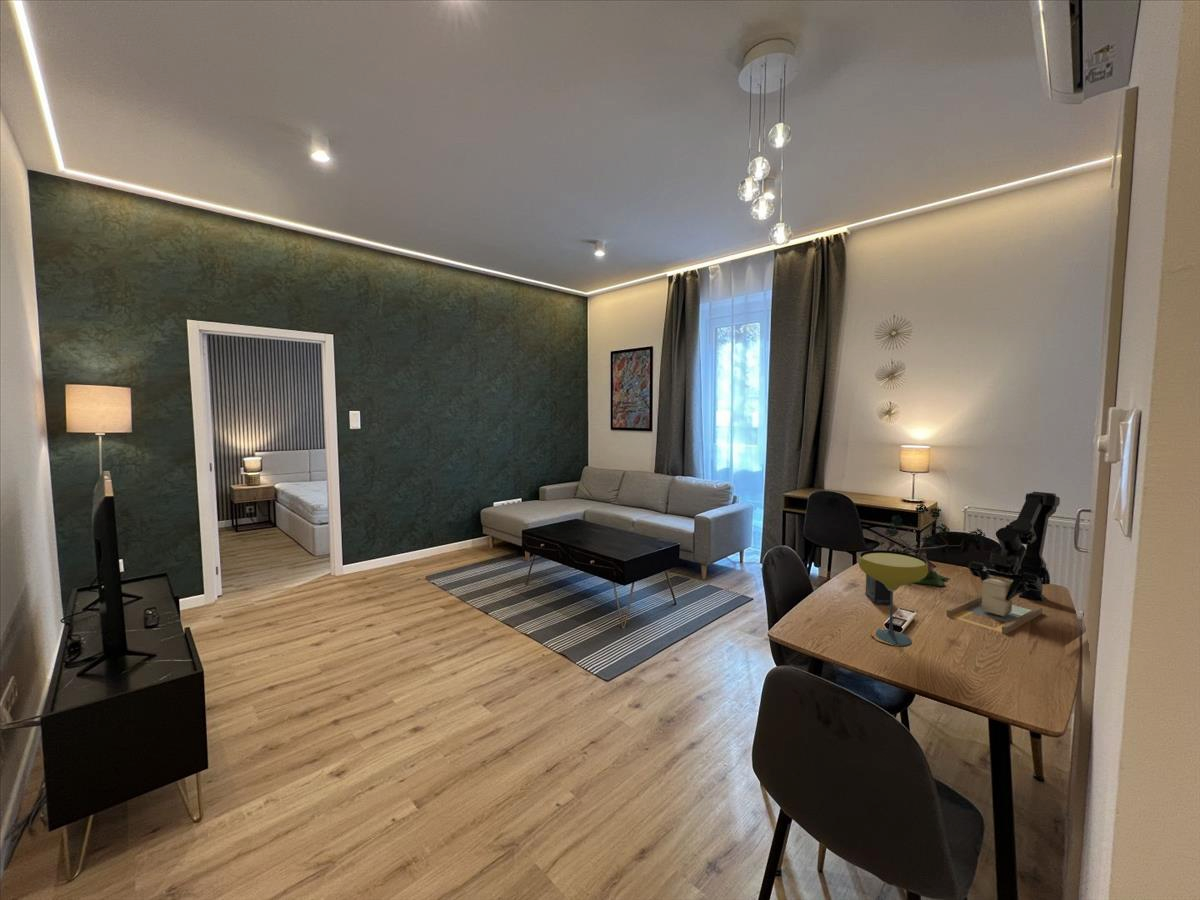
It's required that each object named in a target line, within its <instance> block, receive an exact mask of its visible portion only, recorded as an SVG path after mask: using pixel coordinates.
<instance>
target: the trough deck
mask: <svg viewBox="0 0 1200 900" xmlns="http://www.w3.org/2000/svg"><path fill="white" fill-rule="evenodd" d="M972 614H977V615H980V616H983V617H987V618H991V619H994V620H997V621H1001V622H1004V623H1002V624H999V626H997V627H993V626H989V625H985V624H983V623H982V624H981V623H980V622H976V621H972V620H969V619H966V617H967V616H969V615H972ZM1040 615H1043V607H1041V606H1037V607H1035V608H1033V609H1028V608H1026V607H1025V608H1024V607H1022V606H1017V605H1014V604H1012V612H1011V613H1009V614H1007V615H1005V616H1001V615H997V614H994V613H990V612H987V611H983V610H982V593H981V594H978V595H977V596H975V597H972V598H970V599H968V600H966V601H964V602H961V603H960V604H959V603H958V604H957V605H955V606H952V607H950V608H948V609H946V617H949V618H952V619H955V620H958V621H961V622H965V623H968V624H971V625H975V626H979V627H980V628H981V627H982V628H984V629H987V630H991V631H994V632H997V633H1001V634H1004V635H1007V634H1008V633H1009V634H1010V632H1012V631H1014V630H1016V629H1018V628H1020V627H1021V626H1023V625H1025V624H1026V623H1028V622H1030V621H1031V620H1033V619H1035V618H1037V617H1038V616H1040Z"/></svg>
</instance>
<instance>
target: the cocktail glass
mask: <svg viewBox="0 0 1200 900" xmlns="http://www.w3.org/2000/svg"><path fill="white" fill-rule="evenodd" d="M921 557H922V556H918V555H916V554H913V553H903V552H897V551H896V550H895V551H891V550H889V551H887V549H886V550H883V549H882V550H881V549H877V550H876V549H874V550H873V549H872V550H866V551H865V550H864V551H862V552H860V554H859V556H858V565H859V568H860V570H861V571H862V572H863V573H865V575H866V574H867V575H869V576H870V577H872V578H874V579H876V580H878V581H880V582H881V583H883V584H884V585H885V586H886V588H887V589H888V590H889V591H891V595H890V605H889V626H888V629H885V630H879V629H877V630H878V631H876V636H877V637H878V638H879V639H881V640H883V641H885V642H888V643H891V644H893V645H899V646H898V647H906V646H905V645H907V646H910V645H911V644H912V641H913V640H912V638H910V637H909V635H906V634H904V633H902V632H900V633H899V631H896V630H894V625H893V622H894V621H893V619H894V618H893V617H894V616H893V610H894V608H893V605H894V592H896V591H897V590H898V589H899V588H900V587H902V586H905V585H910V584H915V583H914V582H917V581H920V580H921V579H923V578H925V577H926V575H927V573H928V563H927V561H926V560H925V559H923V558H921ZM895 631H896V632H895ZM909 644H910V645H909Z"/></svg>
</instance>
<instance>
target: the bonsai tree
mask: <svg viewBox="0 0 1200 900" xmlns="http://www.w3.org/2000/svg"><path fill="white" fill-rule="evenodd" d="M929 511H930V512H929ZM941 511H942V509H940V508H939V507H933V508H930V509H929V508H928V507H927V506H926V505H925V504H924V503H919V504H917V505H916V507H915V511H914V512H915V513H916V514H917V513H918V514H922V515H923V517H924V518H925V519H926V521H927V522H928V524H929V525H930V527H931V528H932V529H933V530H934V531H935V533H937V534H938V535H939V537H940V538H942V539H943V541H944V542H945V544H944V545H937V544H935V543H934V542H936V539H935V537H933V536H931V535H930V534H926V535H924V536H923V537H921V539H920V538H918V535H917V534H915V537H917V538H916V539H918V540H919V541H920V542H922V543H925V544H924V545H923V546H922V547H921V548H920V547H919V546H918V545H919V543H918V541H915V544H913V545H909V543H907V542H906V541H904V540H902V539H901V537H902V536H903V535H905V534H906V533H908V532H909V531H910V530H911V528H910V527H909V526H908V525H911V526H912V524H911V523H908V522H907V523H908V525H906V527H908V530H907V531H905V532H903V533H902V534H900V535H899V537H898V539H899V541H901V542H902V543H903V544H905V545H906V547H905V548H904V549H902V550H901V549H899V548H892V547H893V546H894V543H893V542H892V541H891V540H889V539H887V538H891V537H896V536H898V534H899V533H900V532H899V531H898V528H902V527H903V526H904V524H903V520H904V519H903V518H902V517H901V515H900V514H898V515H893V516H892V517H891V521H890V524H889V527H888V528H885V532H884V534H885V535H887V536H883V537H881V539H882V540H883V541H885V542H887V543H890V545H889V546H888V547H887V548H886V550H887V551H897V552H903V553H908V554H912V555H916V556H918V555H920V557H921V558H923V559H925V560H926V561H927V563H928V573H927V575H926V577H925V578H923V579H921V580H920V581H917V582H914V583H913V584H917V585H918V584H919V585H928V586H929V585H930V586H935V587H939V588H943V586H944V585H945V582H944V580H945V581H948V580H950V578H949V577H947V576H943V575H941V574H939V573H938V572H937V570H934V569H935V568H937V567H938V566H937V565H936V564H935V563H933V562H932V561H931V560H929V559H928V558H927V551H929V550H936V549H942V548H946V547H947V546H948V547H952V545H949V543H948V541H947V540H946V539H945V538H944V536H947V535H948V533H949V532H950V530H951V529H950V528H949V527H947V525H946V524H945V523H940V525H936V526H935V524H936V522H938V518H939V517H940V516H941V514H940V512H941ZM925 512H928V514H929V515H930V516H931V518H933V519H936V521H935V522H934V523H933V526H932V525H931V523H930V522H929V520H928V519H927V518H926V515H925V514H924V513H925ZM946 518H947V517H946ZM947 519H948V518H947ZM940 521H941V522H943V520H940ZM891 524H892V525H891ZM913 528H914V531H915V533H917V531H916V529H915V527H913ZM937 530H938V531H939V532H938V531H937ZM968 533H969V535H973V538H974V540H976V541H977V542H979V541H980V542H983V539H984V538H985V537H987V536H986V533H985V532H983V530H982V529H980V528H978V527H977V528H976V529H975V530H974V531H973V530H972V531H971V530H970V531H968ZM963 542H964V540H962V542H961V543H960V545H957V544H955V545H954V547H960V546H961V545H962V544H963ZM926 544H928V545H930V547H925V545H926ZM914 547H915V548H914ZM910 548H914V549H910ZM890 549H891V550H890ZM916 552H921V553H916Z"/></svg>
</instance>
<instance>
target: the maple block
mask: <svg viewBox="0 0 1200 900" xmlns="http://www.w3.org/2000/svg"><path fill="white" fill-rule="evenodd" d="M981 584H982V585H981V594H982V610H983V611H987V612H990V613H994V614H997V615H1001V616H1005V615H1007V614H1009V613H1011V612H1012V605H1013V598H1012V599H1010V600H1009V601H1007V600H1006V597H1007V594H1008V592H1009V590H1010V588H1011V586H1012V584H1013V581H1009V580H1004V579H1001V578H1000V579H999V578H995V577H992V576H990V578H988V579H986V580H983V581H982V580H981Z"/></svg>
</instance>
